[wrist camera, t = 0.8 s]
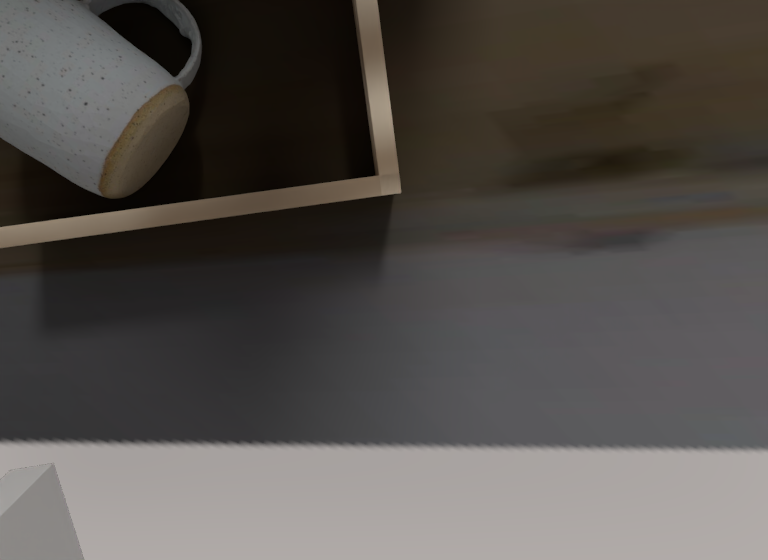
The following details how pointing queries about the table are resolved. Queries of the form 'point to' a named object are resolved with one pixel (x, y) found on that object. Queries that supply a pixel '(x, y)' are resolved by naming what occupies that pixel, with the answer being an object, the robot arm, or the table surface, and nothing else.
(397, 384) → the table surface
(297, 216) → the table surface
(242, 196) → the frame
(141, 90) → the ceramic mug
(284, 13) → the table surface
